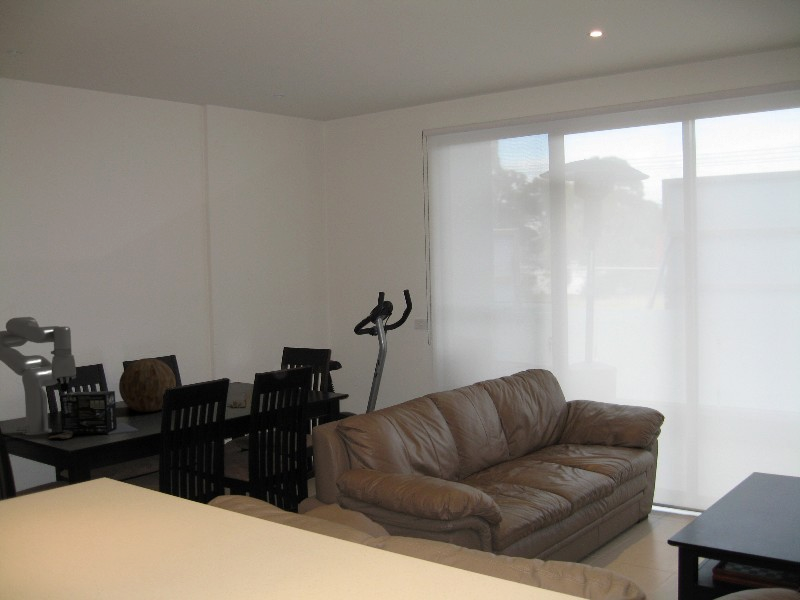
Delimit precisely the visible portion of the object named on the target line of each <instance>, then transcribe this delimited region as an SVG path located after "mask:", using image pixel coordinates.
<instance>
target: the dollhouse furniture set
mask: <svg viewBox="0 0 800 600" xmlns="http://www.w3.org/2000/svg"><path fill="white" fill-rule="evenodd" d="M253 389H254V388H252V389H251V393H252V392H253ZM251 393H250V392H249V391H248V392H245V399H244V400H243V401H240V402H239V400H234V401H233V402H232V403H228V404H227V406H228V405H230V406H235V407H234V408H236V407H238V408H240V407H241V405H242V404H245V405H244V408H246V407H249V408H251V406H250V405H251ZM232 404H233V405H232ZM242 406H243V405H242Z"/></svg>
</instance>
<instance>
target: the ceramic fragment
mask: <svg viewBox="0 0 800 600" xmlns="http://www.w3.org/2000/svg"><path fill="white" fill-rule="evenodd" d="M73 436H74V434H73V431H68V432H65V433H59V434H56V435H50V436H49V437H48V439H56V438H57V439H58V438H59V439H70V438H72V437H73Z"/></svg>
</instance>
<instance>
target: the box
mask: <svg viewBox="0 0 800 600" xmlns="http://www.w3.org/2000/svg"><path fill="white" fill-rule="evenodd" d="M59 400H60V414H61V415H60V416H61V417H60V418H61V420H60V421H61V432H62V433H65V432H68V431H73V435H75V434H77V435H79V434H80V435H81V434H106V433H109V432H111V431H113V430H115V429H117V424H118V423H117V409H116V408H117V405H116V391H115V390H108V391H107V390H103V391H102V390H100V391H70V392H65V393H64V394H60V395H59ZM62 433H61V434H62Z"/></svg>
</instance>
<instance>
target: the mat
mask: <svg viewBox="0 0 800 600" xmlns="http://www.w3.org/2000/svg"><path fill="white" fill-rule="evenodd" d="M139 431H140V430H139V428H136V427H133V426H132V425H129V424H127V423H125V422H121V423H117V429H115V430H113V431H111V432H109V433H105V434H107V435H109V436H111V435H120V434H125V433H135V432H139Z"/></svg>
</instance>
